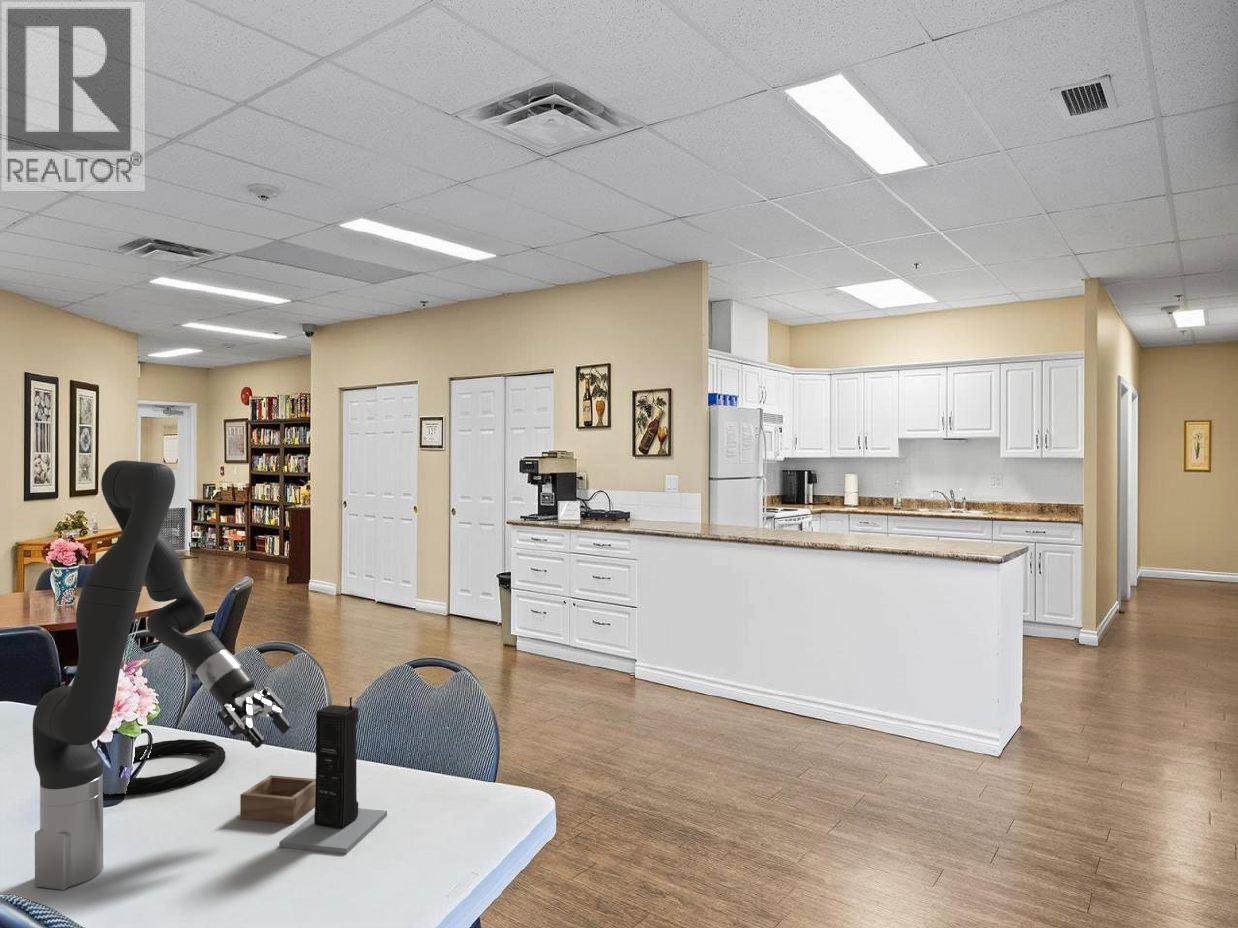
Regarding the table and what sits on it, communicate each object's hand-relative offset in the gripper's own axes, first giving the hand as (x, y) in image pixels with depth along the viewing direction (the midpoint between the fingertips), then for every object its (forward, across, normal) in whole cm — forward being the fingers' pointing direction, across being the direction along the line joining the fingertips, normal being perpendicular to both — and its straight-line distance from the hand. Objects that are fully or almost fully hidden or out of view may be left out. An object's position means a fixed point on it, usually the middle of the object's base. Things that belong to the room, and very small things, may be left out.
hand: (274, 737), depth 158 cm
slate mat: (+22, 0, +3) cm, 22 cm away
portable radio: (+21, +2, +3) cm, 21 cm away
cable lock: (-18, +18, +44) cm, 50 cm away
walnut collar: (+11, +6, +14) cm, 19 cm away
